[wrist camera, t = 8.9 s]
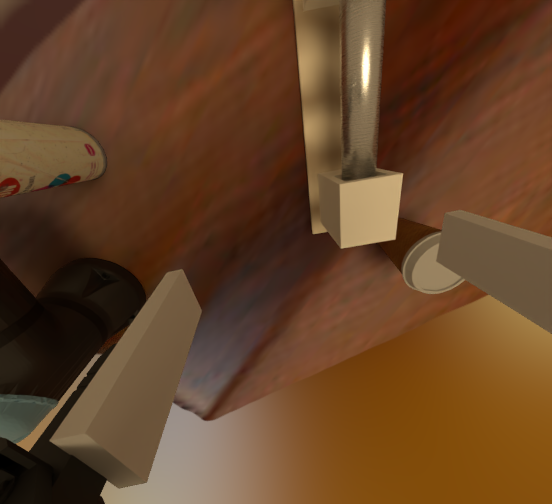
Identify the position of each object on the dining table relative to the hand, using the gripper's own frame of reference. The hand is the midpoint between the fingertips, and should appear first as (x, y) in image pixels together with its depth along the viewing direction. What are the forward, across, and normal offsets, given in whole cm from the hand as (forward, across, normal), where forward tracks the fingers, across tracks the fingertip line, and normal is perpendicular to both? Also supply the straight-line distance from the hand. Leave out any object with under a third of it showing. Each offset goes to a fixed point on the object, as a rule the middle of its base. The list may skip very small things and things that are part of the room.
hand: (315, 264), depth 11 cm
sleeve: (+25, +10, -4) cm, 27 cm away
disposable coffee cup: (+25, +20, -13) cm, 35 cm away
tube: (+20, +11, +11) cm, 25 cm away
